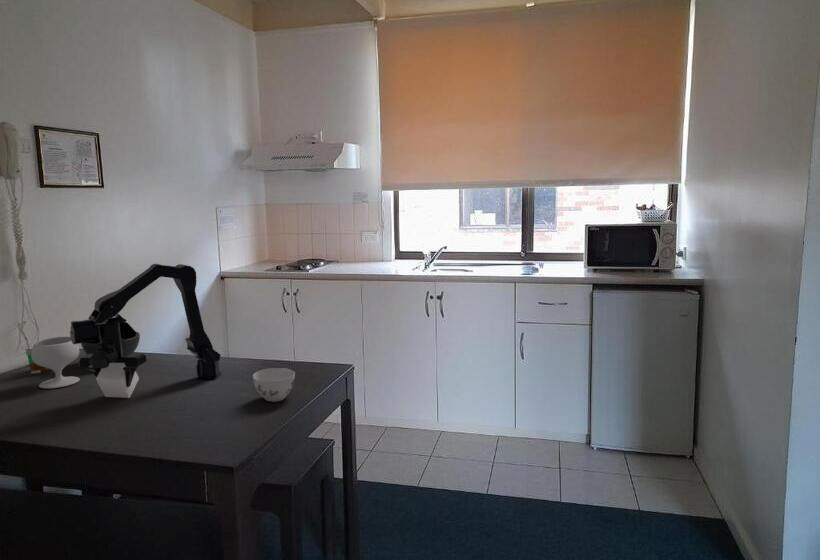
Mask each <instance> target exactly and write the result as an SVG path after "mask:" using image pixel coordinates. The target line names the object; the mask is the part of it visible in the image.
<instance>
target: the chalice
mask: <svg viewBox="0 0 820 560" xmlns="http://www.w3.org/2000/svg"><path fill="white" fill-rule="evenodd" d="M31 349H32V353H31V357H32V360H33V362H34V363H35V364H37V365H39V366H43V367H46V368H49V369H51V370H53V372H54V374H55V377H54V378H51V379H46V380H44V381H43V382H41V383H40V384H39V385H38V387H39V388H40V389H59V388H65V387H68V386H71V385H74V384H76V383H78V382H80V381H81V379H80V378H79V377H78V376H72V375H70V376H63V374H62V373H63V369H64V368H65V367H67V366H68V365H70V364H71V363H72V362H74V361H75V360H76V359H77V358H78V357H79V355H80V347H79V344H73V343H72V340H71V336H57V337H55V336H54V337H50V338H45V339H41V340H37V341H35V342H34V343H33V346H32V348H31Z"/></svg>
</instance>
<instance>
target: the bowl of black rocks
mask: <svg viewBox="0 0 820 560" xmlns="http://www.w3.org/2000/svg"><path fill="white" fill-rule="evenodd" d="M112 318H113V317H112ZM119 326H120V335H121V339H123V340H124V342H122V343H121V344H122V352H125V355H123V357H127V356H129V355H131V354H133V353H135V351H136V350H137V347H138V346H139V343H140V340H141V339H140V338H141V337H140V336H141V335H140V332H138V331H136V329H134V328H133V327H132V326H131V325H130V324H129V323H128V322H127V321H126V322H121V323H119ZM97 328H98V337H97V339H95V341H91V342H85V343H80V345H81V349H82V350H83V352H84V353H85V354H86V355H88V354H94V353H95V352H96V351H97V349H98V344H99V343H100V335H99V326H97Z"/></svg>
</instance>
